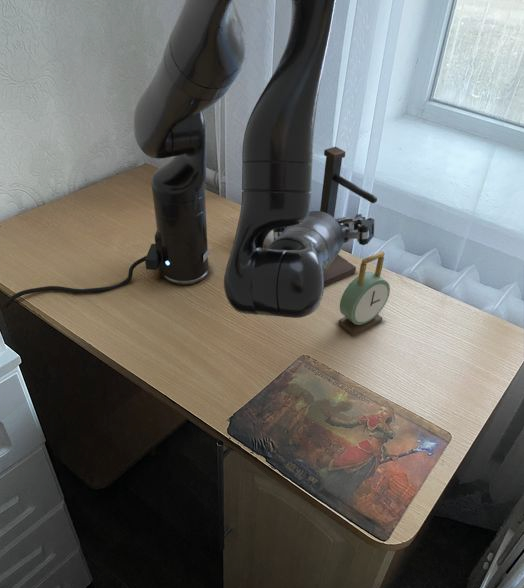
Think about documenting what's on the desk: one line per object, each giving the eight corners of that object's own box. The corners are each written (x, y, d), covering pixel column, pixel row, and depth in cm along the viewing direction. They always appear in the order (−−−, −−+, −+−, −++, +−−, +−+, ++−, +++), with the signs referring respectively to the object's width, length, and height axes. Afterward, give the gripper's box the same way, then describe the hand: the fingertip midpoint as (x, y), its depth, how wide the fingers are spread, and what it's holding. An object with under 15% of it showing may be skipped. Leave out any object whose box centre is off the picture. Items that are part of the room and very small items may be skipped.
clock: (349, 338, 93) (361, 270, 84) (333, 325, 96) (344, 258, 86) (385, 319, 97) (401, 253, 88) (370, 308, 100) (384, 242, 90)
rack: (376, 288, 104) (402, 167, 88) (338, 306, 100) (358, 182, 83) (323, 250, 114) (337, 134, 97) (285, 265, 109) (294, 146, 92)
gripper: (364, 216, 67) (378, 195, 81) (256, 217, 71) (288, 197, 85) (363, 274, 70) (377, 244, 84) (260, 271, 74) (289, 243, 88)
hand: (332, 220), depth 85 cm, fingers open, 8 cm apart
